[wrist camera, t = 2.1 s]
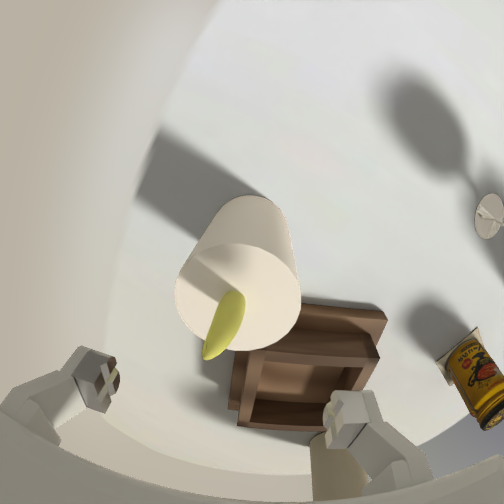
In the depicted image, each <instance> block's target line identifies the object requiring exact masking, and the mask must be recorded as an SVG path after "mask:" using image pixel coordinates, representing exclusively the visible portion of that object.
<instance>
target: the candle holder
mask: <svg viewBox="0 0 504 504" xmlns="http://www.w3.org/2000/svg"><path fill="white" fill-rule="evenodd" d="M387 321H388V319H387V317H386V316H385V314H384V312H383V311H373V310H362V309H351V308H341V307H331V306H322V305H313V304H304V303H301V310H300V313H299V315H298V318H297V321H296V323H295V324H294V326H293V327H292V328H291V330H290V331H289V332H288V333H287V334H286V335H285V336H284V337H282V338H281V339H280V340H278V341H277V342H275V343H273V344H271V345H269V346H266V347H264V348H260V349H255V350H250V351H235V358H234V365H233V373H232V381H231V389H230V396H229V404H228V409H231V410H238V411H239V414H238V423H237V426H241V427H250V428H259V429H271V430H287V431H328V430H327V429H326V428H325V427H324V426H323V412H324V408H325V406H326V404H327V403H329V402H330V401H331V397H330V396H331V394H332V392H333V391H335V390H363V388H364V386H365V385H366V383H367V381H368V380H369V378H370V376H371V374H372V372H373V371H374V369H375V367H376V365H377V363H378V361H379V359H380V357H379V354H378V352H377V349H376V345H377V343H378V341H379V339H380V337H381V334H382V332H383V330H384V328H385V326H386V323H387Z"/></svg>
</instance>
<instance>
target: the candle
mask: <svg viewBox="0 0 504 504" xmlns="http://www.w3.org/2000/svg"><path fill="white" fill-rule="evenodd" d="M174 297H175V302H176V307H177V310H178V312H179V314H180V316H181V318H182V320H183V322H184V323H185V324H186V325H187V326H188V328H189V329H190V330H191V331H192V332H193V333H194V334H195V335H197V336H198V337H200V338H201V339H203V340H204V341H205V342H204V345H203V350H202V358H203V360H211V359H213V358H215V357H216V356H218V355H219V354H221V353H222V352H223V351H224V350H225V349H229V350H234V351H250V350H255V349H260V348H264V347H266V346H269V345H271V344H273V343H275V342H277V341H278V340H280V339H281V338H282V337H284V336H285V335H286V334H287V333H288V332H289V331H290V330H291V328H292V327H293V326H294V324H295V323H296V321H297V318H298V315H299V313H300V310H301V291H300V285H299V280H298V274H297V269H296V263H295V258H294V253H293V248H292V243H291V238H290V233H289V228H288V224H287V221H286V217H285V216H284V214H283V213H282V211H281V209H280V208H279V207H277V206H276V205H275V204H274V203H273V202H271V201H270V200H268V199H266V198H264V197H259V196H255V195H245V196H240V197H237V198H234V199H232V200H230V201H229V202H227V203H225V204H224V205H223V206H222V208H221V209H220V210H219V211H218V212H217V214H216V215H215V217H214V218H213V220H212V221H211V223H210V224H209V226H208V227H207V229H206V231H205V232H204V234H203V235H202V237H201V238H200V240H199V241H198V243H197V245H196V246H195V248H194V249H193V251H192V252H191V254H190V256H189V257H188V259H187V260H186V262H185V264H184V265H183V267H182V269H181V270H180V273H179V275H178V278H177V280H176V282H175V294H174Z"/></svg>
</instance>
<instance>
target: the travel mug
mask: <svg viewBox="0 0 504 504" xmlns="http://www.w3.org/2000/svg"><path fill="white" fill-rule="evenodd" d="M326 432H327V431H326ZM326 432H323V433H321V434H319V435H317V436H315V437H314V438H313V439H312V440H311V441H310V457H311V472H312V487H313V488H312V489H313V501H328V500H339V499H348V498H355V497H362V496H363V495H362V489H363V488H364V487H365V486H366V485H367V484H368V483H369V480H368V475H367V473H366V471H365V470H364V469H363V468H362V467H361V465H360V464H359V463H358V462H357V461H356V459H355V458H354V457H353V456H352V455H351V453H350V452H349V451H348V450H347V449H327V447H326V440H325V434H326Z"/></svg>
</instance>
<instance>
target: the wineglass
mask: <svg viewBox="0 0 504 504" xmlns="http://www.w3.org/2000/svg"><path fill="white" fill-rule="evenodd" d="M503 217H504V207H503V203H502V200H501V198H500V197H499V196H498V195H496V194H494V193H491V194H488V195H486V196H484V197H483V199H482V200H481V201H480V203H479V205H478V207H477V210H476V214H475V228H476V231H477V233H478V235H479V236H480V237H481V238H483V239H489V238H492V237H493V236H494V235H495V234H496V233H497V232H498V231H499V229H500V227H501V225H502V226H503V227H504V221H503Z"/></svg>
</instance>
